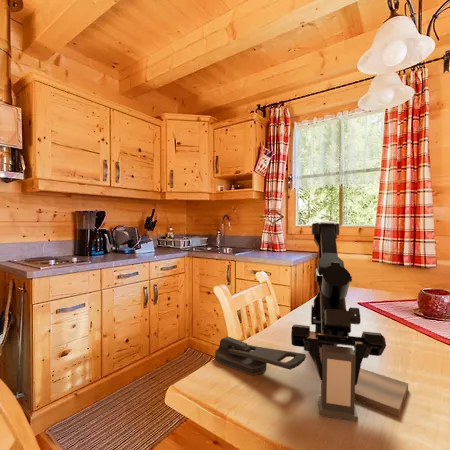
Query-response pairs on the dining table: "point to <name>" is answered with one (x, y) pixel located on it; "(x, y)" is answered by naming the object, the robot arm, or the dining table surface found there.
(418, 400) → the dining table surface
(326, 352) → the picture frame
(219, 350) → the zipper pull
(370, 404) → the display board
